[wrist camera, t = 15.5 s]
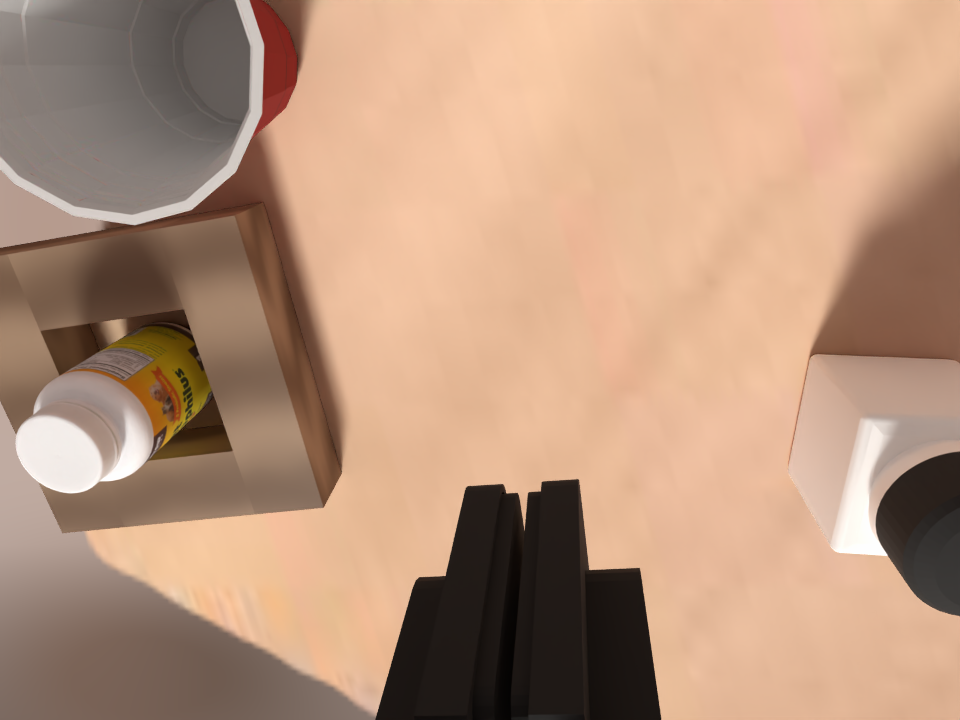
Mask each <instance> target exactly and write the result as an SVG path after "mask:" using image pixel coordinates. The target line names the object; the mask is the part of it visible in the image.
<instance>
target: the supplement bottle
mask: <svg viewBox="0 0 960 720" xmlns="http://www.w3.org/2000/svg"><path fill="white" fill-rule="evenodd" d="M212 397H213V392H212V389H211V386H210V383H209V380H208V377H207V375H206V372H205V369H204V366H203V363H202V360H201V357H200V354H199V352H198V349H197V346H196V343H195V340H194V337H193V334H192V331H190V330H189V329H187V328H185V327H182V326H180V325H177V324H173V323H166V322H158V323H151V324H147V325H144V326H142V327H140V328H138V329H136V330H134V331H133V332H131V333H129V334H128V335H126V336H124V337H123V338H121V339H119V340H118V341H116V342H114V343H113V344H111V345H109V346H108V347H106V348H104V349H103V350H101V351H99V352H98V353H96V354H94V355H93V356H91V357H90V358H88V359H86V360H85V361H83V362H82V363H80V364H78V365H77V366H75V367H73V368H71V369H70V370H68V371H67V372H65V373H63V374H62V375H60V376H58V377H57V378H55V379H54V380H52V381H51V382H50V383H48V384H47V385H46V386H45V387H44V388H43V390H42V391H41V392H40V394H39V395H38V397H37V400H36V402H35V405H34V411H33V415H32V416H31V417H29V418H28V419H27V420H25V421H24V422H23V423H22V425H21V426H20V428H19V429H18V432H17V435H16V451H17V454H18V457H19V459H20V461H21V463H22V465H23V466H24V468H25V469H26V470H27V472H28V473H29V474H30V475H31V476H32V477H33V478H34V479H35V480H37V481H38V482H39V483H41V484H42V485H44V486H46V487H48V488H50V489H53V490H55V491H59V492H63V493H80V492H83V491H86V490H88V489H90V488H92V487H93V486H95V485H96V484H97V483H98V482H99V481H113V480H118V479H122V478H124V477H127V476H129V475H131V474H132V473H134V472H135V471H137V470H138V469H139V468H140V467H141V466H143V465H144V464H145V463H146V462H147V461H148V460H149V459H150V458H151V457H152V456H153V455H154V454H155V453H156V452H157V451H158V450H159V449H160V448H161V447H162V446H163V445H165V444H166V443H167V442H168V441H169V440H170V439H171V438H172V437H173V436H174V435H175V434H176V433H177V432H178V431H180V430H181V428H183V427H184V426H185V425H186V424H187V423H188V422H189V421H190V420H191V419H192V418H193V417H194V416H195V415H196V414H197V413H198V412H199V411H201V409H202V408H204V407H205V406H206V404H207V403H208V402H209V401H210V400H211V399H212Z"/></svg>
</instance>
